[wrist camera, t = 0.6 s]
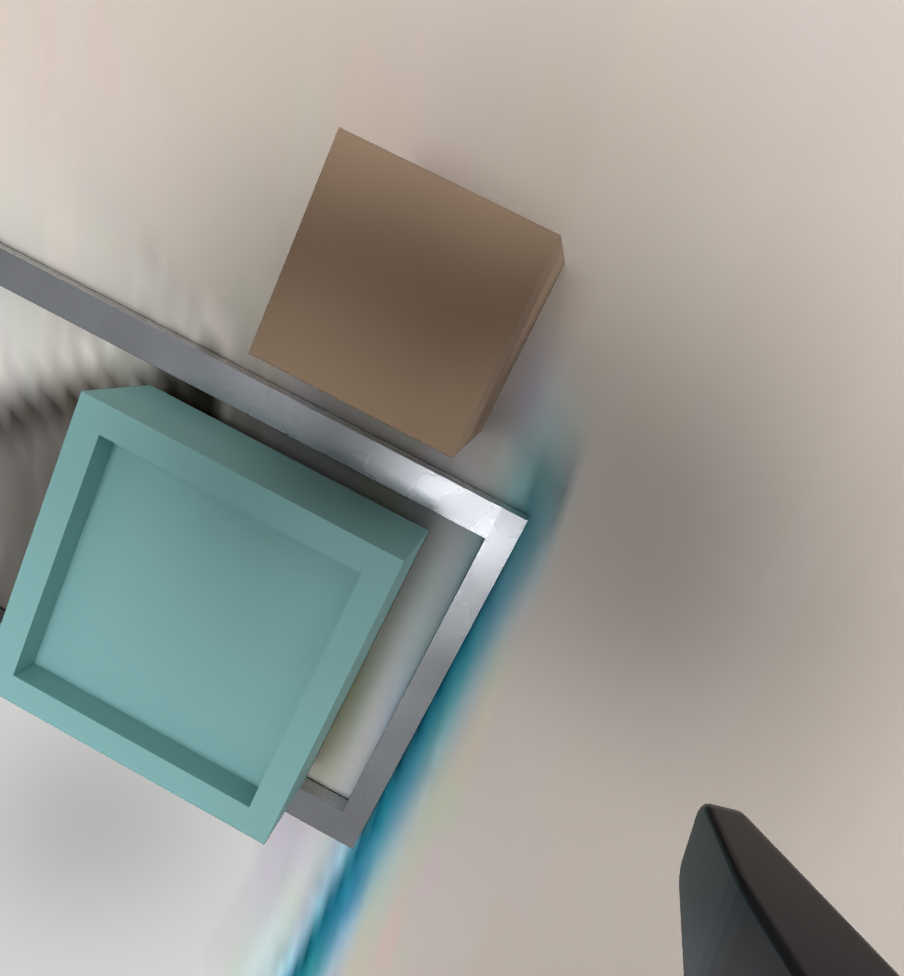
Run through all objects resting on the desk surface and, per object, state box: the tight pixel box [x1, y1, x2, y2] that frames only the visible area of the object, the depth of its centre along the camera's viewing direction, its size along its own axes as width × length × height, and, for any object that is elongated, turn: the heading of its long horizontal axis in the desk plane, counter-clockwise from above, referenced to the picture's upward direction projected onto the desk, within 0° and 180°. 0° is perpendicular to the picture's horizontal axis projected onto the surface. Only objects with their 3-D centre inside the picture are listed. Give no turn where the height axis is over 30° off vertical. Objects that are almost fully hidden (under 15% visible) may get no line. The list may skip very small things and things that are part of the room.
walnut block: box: [249, 127, 564, 457], centre depth 18 cm, size 5×5×5 cm
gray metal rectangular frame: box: [0, 243, 529, 849], centre depth 22 cm, size 12×22×2 cm, turn 64°
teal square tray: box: [0, 385, 428, 844], centre depth 21 cm, size 9×9×4 cm
